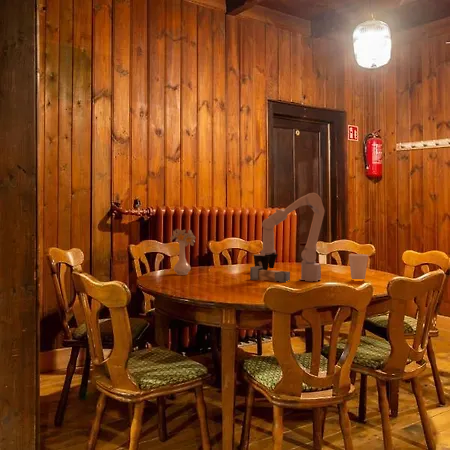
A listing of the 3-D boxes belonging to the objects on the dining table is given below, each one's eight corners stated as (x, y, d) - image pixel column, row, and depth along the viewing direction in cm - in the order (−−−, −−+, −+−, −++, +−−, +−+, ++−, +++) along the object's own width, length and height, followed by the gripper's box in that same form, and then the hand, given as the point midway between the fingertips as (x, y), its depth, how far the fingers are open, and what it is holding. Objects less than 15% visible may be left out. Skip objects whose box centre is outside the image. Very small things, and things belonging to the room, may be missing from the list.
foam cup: (363, 282, 234) (363, 256, 234) (345, 280, 240) (345, 255, 240) (370, 280, 242) (370, 254, 242) (353, 278, 248) (353, 253, 247)
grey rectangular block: (263, 278, 246) (263, 266, 246) (257, 280, 240) (257, 267, 240) (255, 278, 248) (255, 265, 248) (250, 279, 242) (250, 267, 242)
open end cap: (289, 280, 239) (290, 271, 239) (284, 282, 233) (285, 273, 233) (279, 280, 242) (279, 271, 242) (274, 281, 236) (274, 272, 236)
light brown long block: (281, 281, 240) (281, 271, 240) (278, 281, 237) (278, 271, 237) (259, 279, 246) (259, 269, 245) (256, 280, 242) (256, 270, 242)
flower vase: (183, 277, 251) (183, 229, 250) (164, 273, 264) (164, 228, 264) (203, 275, 259) (203, 229, 258) (183, 271, 273) (183, 228, 272)
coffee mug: (251, 272, 269) (251, 255, 269) (257, 271, 277) (257, 254, 277) (270, 274, 264) (270, 256, 264) (275, 272, 272) (276, 255, 271)
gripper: (266, 241, 249) (266, 267, 249) (255, 242, 236) (255, 270, 237) (279, 241, 246) (279, 267, 246) (268, 243, 233) (268, 270, 233)
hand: (268, 268), depth 241 cm, fingers open, 7 cm apart
